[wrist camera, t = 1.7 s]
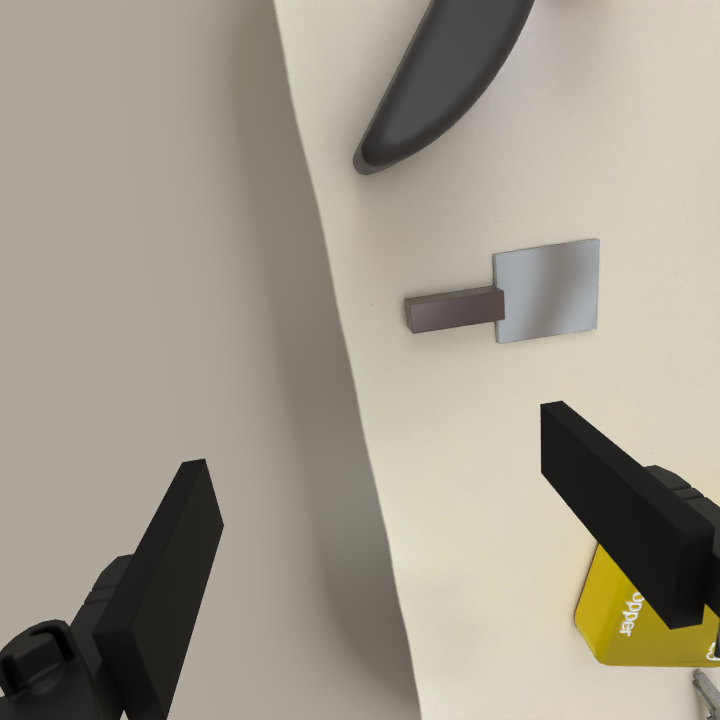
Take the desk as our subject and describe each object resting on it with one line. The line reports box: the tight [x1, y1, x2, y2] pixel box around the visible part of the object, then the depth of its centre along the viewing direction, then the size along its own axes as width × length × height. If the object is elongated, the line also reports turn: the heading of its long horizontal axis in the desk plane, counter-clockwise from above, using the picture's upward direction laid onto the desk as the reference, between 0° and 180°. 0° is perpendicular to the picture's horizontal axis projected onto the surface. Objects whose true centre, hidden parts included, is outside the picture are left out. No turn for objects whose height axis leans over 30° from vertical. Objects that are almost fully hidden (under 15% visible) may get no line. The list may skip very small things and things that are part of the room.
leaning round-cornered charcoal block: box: [353, 0, 535, 175], centre depth 27 cm, size 16×5×9 cm, turn 151°
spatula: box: [405, 239, 600, 344], centre depth 35 cm, size 15×7×2 cm, turn 98°
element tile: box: [575, 544, 720, 668], centre depth 44 cm, size 15×15×5 cm
